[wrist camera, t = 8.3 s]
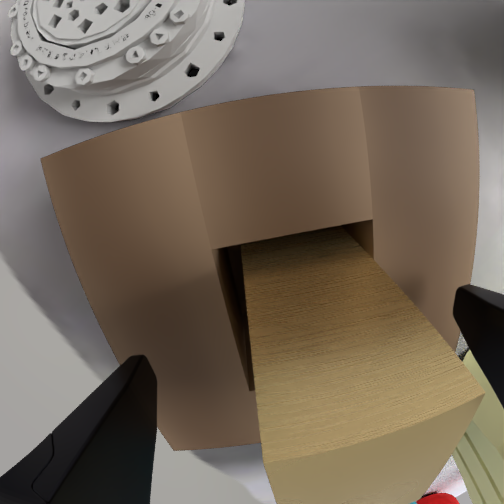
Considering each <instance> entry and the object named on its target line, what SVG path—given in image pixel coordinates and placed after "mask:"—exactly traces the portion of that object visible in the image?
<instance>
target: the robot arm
mask: <svg viewBox="0 0 504 504" xmlns="http://www.w3.org/2000/svg"><path fill="white" fill-rule="evenodd" d="M453 317H454V319H455V321H456V323H457V325H458V327H459V329H460V331H461V333H462V335H463V337H464V339H465V341H466V343H467V345H468V347H469V349H470V351H471V353H472V354H473V356H474V358H475V360H476V362H477V363H478V365H479V366H480V368H481V370H482V371H483V373H484V375H485V377H486V378H487V380H488V382H489V383H490V385H491V387H492V389H493V390H494V392H495V394H496V396H497V398H498V399H499V401H500V403H501V405H502V407H503V409H504V295H503V294H500V293H497V292H493V291H490V290H487V289H484V288H480V287H477V286H474V285H470V284H466V285H463V286H460V287H458V288H457V290H456V293H455V299H454V305H453ZM156 433H157V377H156V375H155V373H154V371H153V369H152V367H151V365H150V362H149V360H148V358H147V357H146V356H145V355H143V354H141V355H132V356H130V357H129V358H128V359H127V360H126V361H125V362H123V363H122V364H121V365H120V366H119V367H118V368H117V369H116V370H115V371H114V372H113V373H112V374H111V375H110V376H109V377H108V378H107V379H106V380H105V381H104V382H103V383H102V384H101V385H100V386H99V387H98V388H97V389H96V390H95V391H94V392H92V393H91V394H90V395H89V396H88V397H87V398H86V399H85V400H84V401H83V402H82V403H81V404H80V405H79V406H78V407H77V408H76V409H75V410H74V411H73V412H72V413H71V414H70V415H69V416H68V417H67V418H66V419H65V420H64V421H63V422H61V424H60V425H58V426H57V427H56V428H55V429H54V431H53V432H52V433H51V434H49V435H48V436H47V437H46V438H45V439H44V440H43V441H42V442H41V443H40V444H39V445H38V446H37V447H36V448H35V449H33V451H31V452H30V453H29V454H28V455H27V456H26V457H24V458H23V459H22V460H21V461H20V462H18V463H17V464H16V465H15V466H14V467H12V468H11V469H10V470H9V471H7V472H6V473H5V474H4V475H2V476H1V477H0V504H150V494H151V482H152V472H153V461H154V452H155V442H156Z"/></svg>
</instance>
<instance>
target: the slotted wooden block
mask: <svg viewBox="0 0 504 504" xmlns="http://www.w3.org/2000/svg"><path fill="white" fill-rule="evenodd" d="M41 163H42V167H43V171H44V175H45V179H46V183H47V186H48V190H49V193H50V197H51V200H52V204H53V207H54V210H55V214H56V217H57V220H58V223H59V226H60V229H61V232H62V235H63V238H64V241H65V243H66V246H67V249H68V252H69V254H70V257H71V260H72V262H73V265H74V267H75V270H76V272H77V275H78V277H79V280H80V282H81V285H82V287H83V289H84V292H85V294H86V296H87V299H88V301H89V303H90V306H91V308H92V310H93V312H94V314H95V316H96V319H97V321H98V323H99V325H100V327H101V329H102V331H103V333H104V335H105V337H106V339H107V341H108V343H109V345H110V347H111V349H112V351H113V353H114V355H115V357H116V359H117V360H118V362H119V364H120V365H121V364H122V363H123V362H125V361H126V360H127V359H128V358H129V357H130V356H132V355H141V354H143V355H145V356H146V357H147V358H148V360H149V362H150V365H151V367H152V369H153V371H154V373H155V375H156V377H157V427H158V429H159V430H160V432H161V433H162V435H163V436H164V438H165V439H166V440H167V442H168V443H169V445H170V446H171V447H172V449H173V450H174V451H177V450H178V451H179V450H198V449H211V448H222V447H231V446H240V445H247V444H255V443H261V438H260V429H259V419H258V410H257V401H256V392H255V382H254V373H253V363H252V354H251V344H250V334H249V324H248V314H247V304H246V294H245V284H244V274H243V264H242V253H241V244H243V243H248V242H253V241H259V240H264V239H269V238H274V237H280V236H285V235H290V234H296V233H301V232H306V231H312V230H317V229H322V228H328V227H333V226H338V225H340V226H341V227H342V228H343V229H344V230H345V231H346V232H347V233H348V234H349V235H350V236H351V237H352V238H353V239H354V240H355V241H356V242H357V243H358V244H359V245H360V246H361V247H362V248H363V249H364V250H365V251H366V252H367V253H368V254H369V255H370V256H371V257H372V258H373V260H374V261H375V262H376V263H377V264H378V265H379V266H380V267H381V268H382V269H383V270H384V271H385V272H386V273H387V275H388V276H389V277H390V278H391V279H392V280H393V281H394V282H395V283H396V284H397V285H398V287H399V288H400V289H401V290H402V291H403V292H404V293H405V294H406V295H407V297H408V298H409V299H410V300H411V301H412V302H413V303H414V305H415V306H416V307H417V308H418V309H419V310H420V311H421V313H422V314H423V315H424V316H425V317H426V318H427V320H428V321H429V322H430V323H431V324H432V325H433V327H434V328H435V329H436V330H437V331H438V333H439V334H440V335H441V336H442V337H443V339H444V340H445V341H446V342H447V344H448V345H449V346H450V347H451V348H452V350H453V351H454V352H455V351H456V347H457V343H458V339H459V335H460V329H459V327H458V325H457V323H456V321H455V319H454V317H453V305H454V299H455V293H456V290H457V288H458V287H460V286H463V285H466V284H470V282H471V275H472V269H473V261H474V254H475V245H476V235H477V223H478V208H479V139H478V124H477V113H476V103H475V95H474V90H472V89H461V88H448V87H429V86H362V87H343V88H328V89H317V90H306V91H297V92H289V93H281V94H273V95H266V96H260V97H253V98H247V99H242V100H236V101H230V102H225V103H220V104H215V105H210V106H206V107H201V108H196V109H192V110H188V111H184V112H179V113H175V114H171V115H168V116H164V117H160V118H156V119H153V120H149V121H146V122H142V123H139V124H135V125H132V126H129V127H125V128H122V129H119V130H116V131H113V132H110V133H107V134H104V135H101V136H98V137H95V138H92V139H89V140H87V141H84V142H81V143H79V144H76V145H73V146H71V147H68V148H65V149H63V150H60V151H58V152H55V153H53V154H51V155H48V156H46V157H43V158H41Z"/></svg>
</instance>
